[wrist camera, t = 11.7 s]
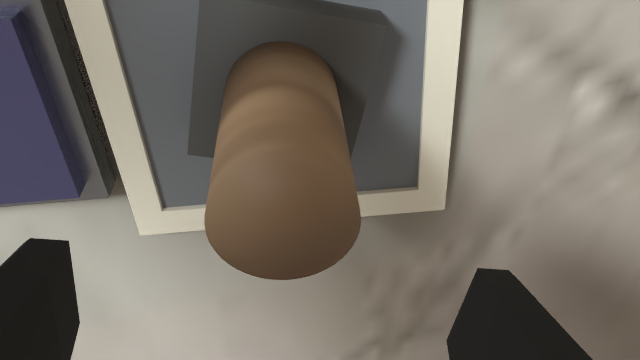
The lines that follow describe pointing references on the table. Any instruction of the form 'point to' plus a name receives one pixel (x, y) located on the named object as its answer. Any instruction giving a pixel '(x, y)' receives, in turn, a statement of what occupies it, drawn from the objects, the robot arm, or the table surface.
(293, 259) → the stamp
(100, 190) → the ink pad
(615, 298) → the table surface
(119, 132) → the marked square
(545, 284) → the table surface
